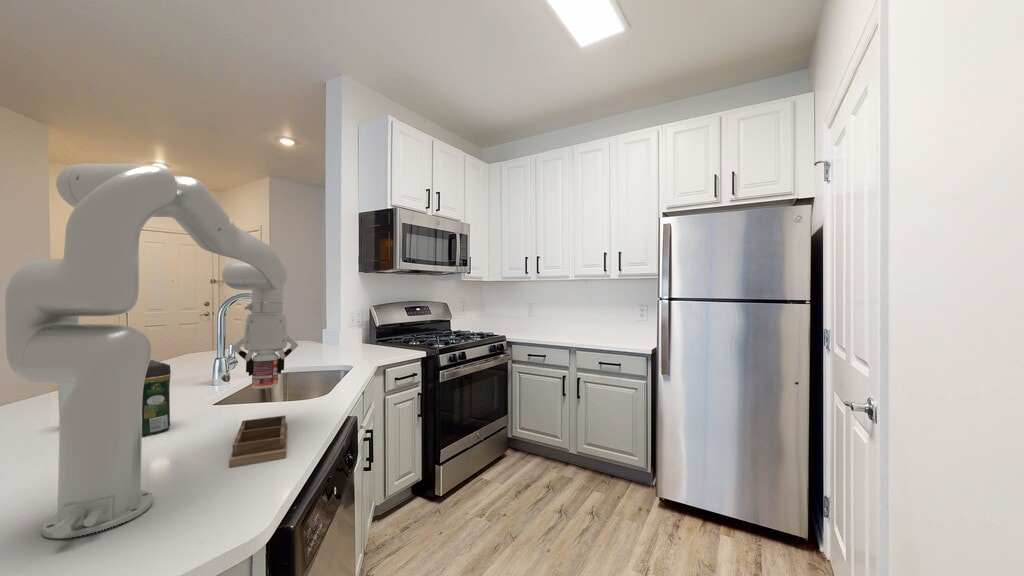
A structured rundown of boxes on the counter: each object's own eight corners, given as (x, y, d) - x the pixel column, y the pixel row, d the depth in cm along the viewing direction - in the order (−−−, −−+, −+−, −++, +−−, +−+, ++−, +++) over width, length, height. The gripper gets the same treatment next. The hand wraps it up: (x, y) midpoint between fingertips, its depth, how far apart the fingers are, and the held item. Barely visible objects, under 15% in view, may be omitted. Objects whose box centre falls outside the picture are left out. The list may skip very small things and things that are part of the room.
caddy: (285, 458, 88) (285, 440, 88) (228, 467, 83) (229, 448, 83) (287, 427, 107) (287, 413, 107) (241, 434, 102) (241, 418, 102)
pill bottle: (278, 387, 108) (279, 346, 108) (251, 390, 104) (253, 347, 105) (277, 383, 113) (278, 344, 113) (251, 385, 110) (253, 345, 110)
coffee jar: (121, 432, 103) (122, 361, 103) (160, 423, 110) (161, 357, 110) (134, 439, 98) (136, 365, 98) (174, 430, 105) (175, 360, 105)
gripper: (227, 309, 102) (224, 379, 101) (302, 309, 110) (301, 373, 110) (231, 308, 109) (229, 374, 108) (302, 308, 117) (300, 369, 116)
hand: (265, 373), depth 109 cm, fingers closed on pill bottle, 6 cm apart
